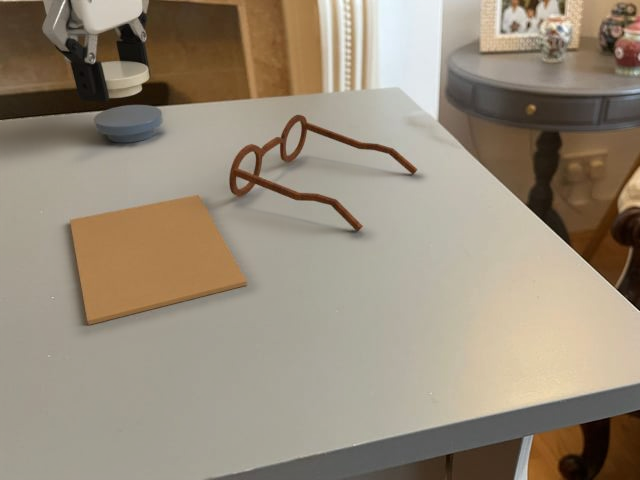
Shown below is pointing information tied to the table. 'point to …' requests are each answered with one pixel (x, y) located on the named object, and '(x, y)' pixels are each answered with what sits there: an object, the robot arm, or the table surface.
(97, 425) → the table surface
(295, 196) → the glasses
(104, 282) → the mat
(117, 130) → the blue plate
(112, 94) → the top plate
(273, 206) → the table surface
